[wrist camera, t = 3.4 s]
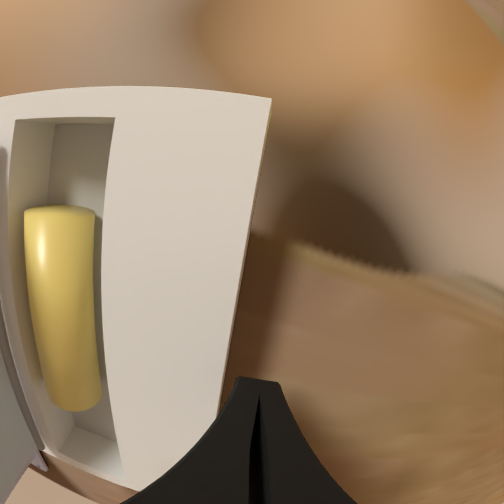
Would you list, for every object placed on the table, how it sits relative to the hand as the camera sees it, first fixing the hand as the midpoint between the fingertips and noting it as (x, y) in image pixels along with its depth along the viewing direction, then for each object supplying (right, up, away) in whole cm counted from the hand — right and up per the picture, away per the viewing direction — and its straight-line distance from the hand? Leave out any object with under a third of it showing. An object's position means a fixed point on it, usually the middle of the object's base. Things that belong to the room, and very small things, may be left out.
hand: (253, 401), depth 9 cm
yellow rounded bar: (-8, +2, +2) cm, 9 cm away
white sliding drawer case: (-7, +1, +4) cm, 8 cm away
